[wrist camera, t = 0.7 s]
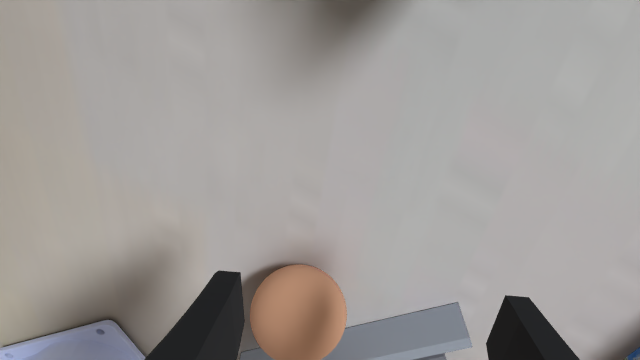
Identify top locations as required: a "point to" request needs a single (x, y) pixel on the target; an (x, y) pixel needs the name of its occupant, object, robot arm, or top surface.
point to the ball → (298, 314)
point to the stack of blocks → (634, 355)
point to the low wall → (398, 337)
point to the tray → (433, 357)
